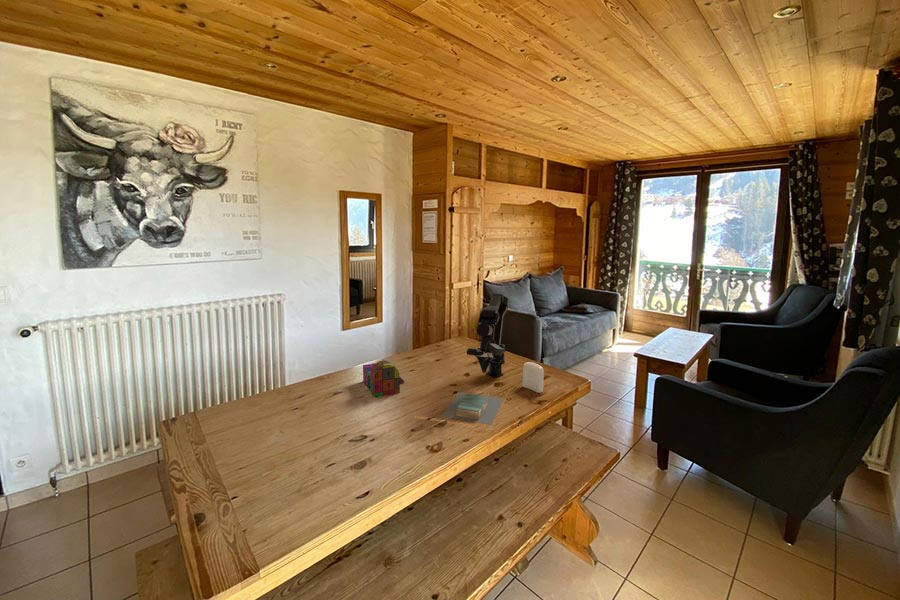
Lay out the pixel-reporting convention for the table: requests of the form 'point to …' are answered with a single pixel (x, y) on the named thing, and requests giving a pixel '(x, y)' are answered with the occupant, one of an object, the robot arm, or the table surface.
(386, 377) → the block puzzle
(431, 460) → the table surface
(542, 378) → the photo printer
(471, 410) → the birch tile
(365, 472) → the table surface
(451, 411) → the rubber mat
